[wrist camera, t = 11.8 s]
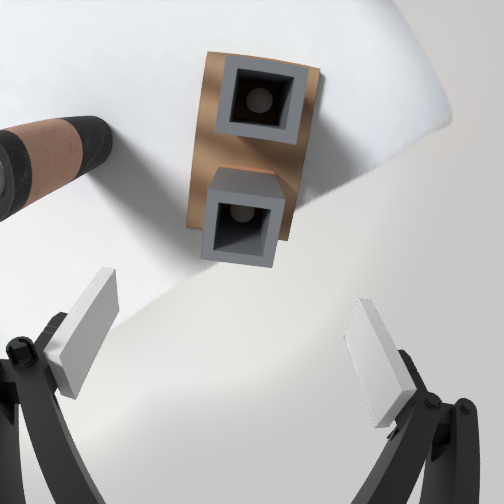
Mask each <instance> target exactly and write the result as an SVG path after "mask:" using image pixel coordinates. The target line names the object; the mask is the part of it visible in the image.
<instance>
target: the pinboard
mask: <svg viewBox="0 0 504 504" xmlns="http://www.w3.org/2000/svg"><path fill="white" fill-rule="evenodd" d="M226 55H232V56H241V57H249V58H256V59H263V60H269V61H275V62H281V63H287V64H292V65H297V66H302V67H307V68H309V73H308V78H307V84H306V90H305V96H304V102H303V108H302V114H301V119H300V125H299V131H298V136H297V142H296V145H295V144H290V143H284V142H278V141H272V140H265V139H259V138H252V137H245V136H237V135H229V134H221V133H215V126H216V119H217V112H218V105H219V98H220V91H221V85H222V78H223V72H224V66H225V60H226ZM319 74H320V69H319V68H315V67H310V66H306V65H301V64H296V63H291V62H285V61H280V60H274V59H268V58H261V57H254V56H247V55H239V54H229V53H219V52H207V57H206V63H205V69H204V76H203V82H202V89H201V96H200V103H199V111H198V118H197V126H196V134H195V143H194V151H193V161H192V170H191V181H190V191H189V203H188V215H187V228H192V229H200V230H203V229H204V219H205V209H206V199H207V190H208V187H209V185H210V183H211V181H212V179H213V177H214V175H215V173H216V171H217V169H218V167H219V165H220V164H226V165H234V166H242V167H249V168H256V169H263V170H269V171H274V173H275V175H276V178H277V180H278V182H279V185H280V187H281V190H282V192H283V195H284V197H285V205H284V210H283V216H282V221H281V226H280V231H279V236H278V240H284V241H288V237H289V233H290V228H291V223H292V218H293V213H294V208H295V204H296V199H297V194H298V189H299V184H300V179H301V173H302V168H303V163H304V158H305V153H306V147H307V142H308V137H309V131H310V126H311V120H312V115H313V109H314V103H315V97H316V92H317V86H318V80H319ZM278 92H279V87H274V86H268V85H261V84H254V83H247V82H241V83H240V89H239V96H238V102H237V109H236V116H235V118H239V119H247V120H254V121H261V122H267V123H273V122H274V116H275V110H276V104H277V98H278ZM223 208H229V209H230V213H231V216H232V217H233V219H235V220H236V221H238V222H247V221H249V220H250V219H251V218H252V217H253V216H254V212H259V208H257V207H250V206H243V205H235V204H228V203H223Z"/></svg>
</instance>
